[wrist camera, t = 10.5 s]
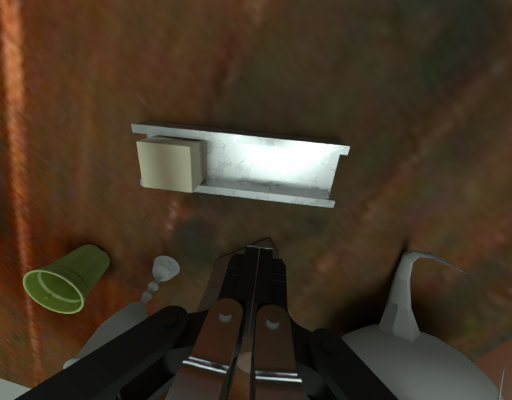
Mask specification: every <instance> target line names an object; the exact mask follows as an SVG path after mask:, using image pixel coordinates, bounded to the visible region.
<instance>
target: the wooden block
mask: <svg viewBox="0 0 512 400" xmlns="http://www.w3.org/2000/svg"><path fill="white" fill-rule="evenodd" d="M250 246H257V247H259V252H258V260H259V253H260V247H265V248H273V258H276V259H279V253H278V251H277V249H276V248H275V246H274V244H273V243H272V241H271V240H270V238H267V239H264V240H262V241H260V242H257V243H255V244H252V245H250ZM245 248H246V247H245ZM245 248H243V249H240V250H238V251H236V252H234V253H231V254H228V255H226V256H224V257H221V258H219V259H217V261H216V264H215V267H214V269H213V272H212V274H211V277H210V280H209V282H208V285H207V288H206V290H205V292H204V294H203V297H202V300H201V302H200V305H199V308H198V310H197V312H201V311H204V310H206V309H208V308H210V307H211V306H212V305H213V304H214V303H215V302H216V301H217V298H218V296H219V292H220V289H221V286H222V283H223V279H224V276H225V274H226V270H227V267H228V263H229V260H230V258H231V257H232V256H233V255H234V254H235V253H238V254H244V253H245ZM257 268H258V261H257ZM256 276H257V270H256ZM255 283H256V278H255ZM254 291H255V285H254ZM253 299H254V293H253ZM252 307H253V300H252ZM251 316H252V308H251V315H250V323H249V330H248V337H245V336H243V340H242V347H241V351H240V353H239V358H238V362H237V365H238V366H239V368H240V369H241V370H243V371H245V372H247V373H250V370H251V354H252V345H253V337H249V333H250V324H251Z"/></svg>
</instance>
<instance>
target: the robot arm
mask: <svg viewBox="0 0 512 400" xmlns="http://www.w3.org/2000/svg"><path fill="white" fill-rule="evenodd" d="M258 252H259V247H257V246H250V245H246V248H245V253H244V254H238V253H235V254H234V255H233V256H232V257H231V258H230V260H229V263H228V267H227V270H226V274H225V276H224V279H223V283H222V286H221V289H220V292H219V296H218V298H217V301H216V302H215V303H214V304H213V305H212V306H211V307H210V308H208V309H206V310H204V311H201V312H195V313H189V314H188V313H187V311H186V310H185V309H184V308H182V307H180V306H168V307H165V308H163V309H161V310H160V311H158V312H156V313H155V314H153V315H152V316H150V317H148V318H147V319H145V320H143V321H142V322H140V323H138V324H137V325H135V326H134V327H132V328H130V329H129V330H127V331H125V332H124V333H122V334H121V335H119V336H117V337H116V338H114V339H112V340H111V341H109V342H107V343H106V344H104V345H103V346H101V347H99V348H98V349H96V350H94V351H93V352H91V353H90V354H88V355H86V356H85V357H83V358H81V359H80V360H78V361H77V362H75V363H73V364H72V365H70V366H68V367H67V368H65V369H63V370H62V371H60V372H59V373H57V374H55V375H54V376H52V377H50V378H49V379H47V380H46V381H44V382H42V383H41V384H39V385H37V386H36V387H34V388H32V389H31V390H29V391H28V392H26V393H24V394H23V395H21V396H20V397H18V398H16V399H15V400H156V399H158V398H159V397H160V396H161V395H162V394H163V393H164V392H165V391H167V390H168V389H169V388H170V387H171V388H170V390H169V392H168V395H167V397H166V399H165V400H229V397H230V393H231V388H232V384H233V380H234V375H235V371H236V367H237V362H238V358H239V353H240V351H241V347H242V340H243V336H245V337H248V330H249V323H250V315H251V308H252V316H251V324H250V333H249V337H253V345H252V354H251V370H250V395H249V400H399V399H398V398H397V397H396V396H395V395H394V394H393V393H392V392H391V391H390V390H389V389H388V388H387V386H386V385H385V384H384V383H383V382H382V381H381V380H380V379H379V378H378V377H377V376H376V375H375V374H374V373H373V372H372V370H371V369H370V368H369V367H368V366H367V365H366V364H365V363H364V362H363V361H362V360H361V359H360V358H359V357H358V355H357V354H356V353H355V352H354V351H353V350H352V349H351V348H350V347H349V346H348V345H347V344H346V343H345V342H344V341H343V339H342V338H341V337H340V336H339V335H337V334H336V333H335V332H333V331H331V330H329V329H324V328H320V329H317V330H315V331H314V332H311V331H309V330H307V329H305V328H303V327H301V326H299V325H298V324H296V323H295V322H294V321H293V320H292V318H291V317H290V315H289V313H288V309H287V286H286V266H285V264H284V262H283V261H282V259H276V258H273V248H265V247H260V253H259V260H258ZM257 261H258V268H257ZM256 270H257V276H256ZM255 278H256V283H255ZM254 285H255V291H254ZM253 293H254V299H253ZM252 300H253V307H252Z"/></svg>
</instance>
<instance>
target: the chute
mask: <svg viewBox="0 0 512 400" xmlns="http://www.w3.org/2000/svg"><path fill="white" fill-rule="evenodd" d="M131 125H132V131H133V132H134V133H143V134H147V138H149V137H152V136H156V135H162V136H172V137H181V138H191V139H200V140H206V142H207V177H206V178H205V179H204V180H203V181H202V182H201V183H200V185H199V186H198V187H197V188H196V189H195V190H194V191H193V192H201V193H210V194H218V195H227V196H235V197H244V198H253V199H261V200H270V201H278V202H287V203H296V204H304V205H313V206H321V207H330V208H333V207H334V204H335V200H334V198H333V196H332V194H331V193H330V190H331V186H332V183H333V179H334V175H335V171H336V167H337V163H338V159H339V155H340V154H343V155H348V152H349V148H350V146H349V145H347V144H346V143H344V142H342V141H341V140H332V139H322V138H312V137H303V136H293V135H283V134H273V133H264V132H254V131H244V130H234V129H224V128H215V127H205V126H195V125H185V124H176V123H166V122H156V121H145V122H139V123H133V124H131ZM140 183H141V186H143V182H142V178H140Z"/></svg>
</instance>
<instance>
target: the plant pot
mask: <svg viewBox="0 0 512 400" xmlns="http://www.w3.org/2000/svg"><path fill="white" fill-rule="evenodd" d="M109 265H110V258H109V256H108V254H107V253H106V252H105V251H102V250H100V249H99V247H98V246H95V245H91V244H86V245H83V246H81V247H79V248H77V249H76V250H74V251H72V252H70V253H69V254H67V255H65V256H64V257H62V258H60V259H58V260H56V261H55V262H53V263H51V264H49V265H48V266H44V267H42V268H40V269H35V270H32V271H30V272H28V273H27V274H26V275H25V276H24V278H23V285H24V288H25V290H26V291H27V293H28V294H29V295H30V296H31V297H32V298H33V300H35V301H36V302H37V303H39V304H40V305H42V306H44V307H45V308H47V309H50V310H52V311H55V312H59V313H65V314H71V313H76V312H78V311H80V310H81V309H82V308H83V306H84V304H85V300H86V298H87V297H88V293H89V292H90V291H91V289H92V288H93V287H94V285H95V284H96V283H97V281H98V280H99V279H100V277H101V276H102V275H103V273H104V272H105V271H106V269H107V268H108V267H109Z"/></svg>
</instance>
